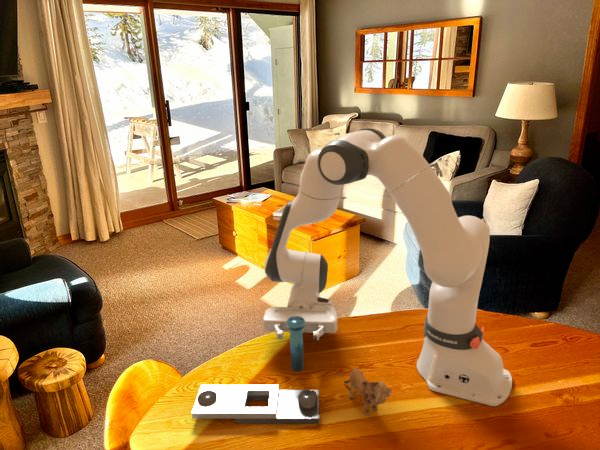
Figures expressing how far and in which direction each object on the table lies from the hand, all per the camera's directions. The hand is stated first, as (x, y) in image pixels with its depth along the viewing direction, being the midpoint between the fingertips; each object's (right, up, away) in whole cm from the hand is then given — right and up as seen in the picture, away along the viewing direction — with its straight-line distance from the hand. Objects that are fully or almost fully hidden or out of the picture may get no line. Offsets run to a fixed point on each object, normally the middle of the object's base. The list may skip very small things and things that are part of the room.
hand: (297, 337), depth 118 cm
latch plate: (-9, -13, -12) cm, 20 cm away
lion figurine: (+16, -13, -11) cm, 23 cm away
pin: (0, -8, +1) cm, 8 cm away
